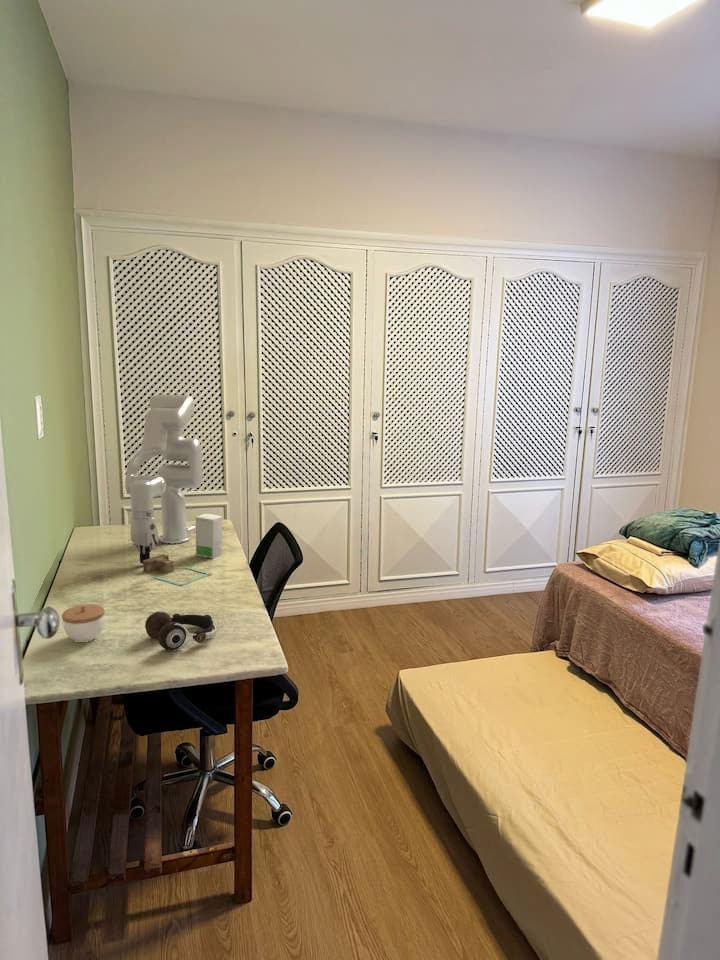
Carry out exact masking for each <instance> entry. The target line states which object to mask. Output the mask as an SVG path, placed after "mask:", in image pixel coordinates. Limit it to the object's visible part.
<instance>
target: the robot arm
mask: <svg viewBox="0 0 720 960" xmlns="http://www.w3.org/2000/svg"><path fill="white" fill-rule="evenodd" d="M148 402H149V408H150V409H149V410H148V411H147V412H146V414H145V421H144V427H143V428H144V429H143V437H142V438H143V439H142V445H141V448H139V450H138V451H137V452H136V453H135V454H134V455H133V456H132V457H131V459H130V460H129V463H128V465H127V468H126V474H125V479H124V487H125V491H126V493H127V494H128V495H130V506H131V507H130V508H131V511H130V512H131V518H130V540H131V543H132V544H133V546H135V547H136V548H137V551H138V553H139V563H140V564H142V565H143V560H146V559H149V558H151V555H150V554H151V551H152V550H153V551H154V550H156V545H158V544H159V542H160V543H162V542H163V544H168V543H170V544H169V545H171V544H175V543H176V544H181V543H182V542H183V543H186V542H188V541H190V540H191V535H190V534H189V533H191V532H193V531H196V526H194V525H193V526H189V527H188V526H187V516H186V515H187V514H186V513H187V511H186V510H187V509H186V497H185V494H184V492H183V491H182V490H181V489H197V488H200V486H201V484H202V480H203V452H202V451H203V450H202V445H201V442H200V440H199V439H197V438H193V437H192V438H191V437H184V434H183V433H184V432H183V430H184V429H185V428H186V426H187V425H188V423H189V421H190V419H191V418H192V416H193V414H194V411H195V406H196V405H195V401H194V399H193V397H192V396H190V395H185V394H155V395H152V396H151V397H150V398H149V401H148ZM159 455H161V457H162V459H163V460H164V461H168V462H187V464H173V463H171V464H170V463H169V464H163V465H161V466H160V467H159V468H158V470H157V474H156V475H141V474H139V475H138V471H139V469H140V467H141V466H142V465H143V464H144V463H145V462H146V461H148V460H150V459H152V458H155V457H157V456H159ZM155 497H156V498H157V497H160V505H161V506H160V508H161V525H162V526H161V528H162V535H160V536H159V532H158V531H159V530H158V526H157V521H156V518H155V516H154V515H155V514H154V513H155V512H154V498H155ZM183 543H182V544H183Z"/></svg>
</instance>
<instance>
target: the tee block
mask: <svg viewBox="0 0 720 960" xmlns="http://www.w3.org/2000/svg"><path fill="white" fill-rule="evenodd" d="M169 558H170V555H168V554H164V553H163V554H162V553H161V554H160V555H157V556H152V557H150V558H149V559H146V560H143V564H142V569H143V572H144V571H145V573H147V574H151V573H153V572H160V573H163V572H164V573H163V574H166V573H167V575H169V574H170V573H171V574H172V573H174V572H175V564H174V560H171V559H169ZM173 571H174V572H173ZM168 573H169V574H168Z"/></svg>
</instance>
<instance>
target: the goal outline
mask: <svg viewBox="0 0 720 960" xmlns="http://www.w3.org/2000/svg"><path fill="white" fill-rule="evenodd" d="M182 567H183V568H182V569H186V568H187V569H186V570H189V569H191V570H190V571H193V570H194V572H196V571H198V572H197V573H200V572H201V573H200V574H203V575H201V576H199V577H196V578H194V579H191V580H188V581H186V582H184V583H179V582H175V581H173V580H168V579H165V578H162V577H158V576H153V579H157V580H160V581H162V582H166V583H170V584H173V585H176V586H179V587H183V586H186V585H187V584H190V582H191V583H193V582H196V581H198V580H201V579H203V578H205V576H206V577H209V576H211V575H210V574H211V573H210V572H205V571H202V570H199V569H195V568H193V567H188V566H185V565H183V566H182ZM204 573H205V574H204ZM208 575H209V576H208ZM202 577H203V578H202ZM200 578H201V579H200ZM197 579H198V580H197ZM195 580H196V581H195ZM192 581H193V582H192ZM185 584H186V585H185Z"/></svg>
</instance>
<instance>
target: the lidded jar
mask: <svg viewBox="0 0 720 960" xmlns="http://www.w3.org/2000/svg"><path fill="white" fill-rule="evenodd" d="M105 612H106V611H105V608H104V607H103V606H102V605H99V604H88V603H87V604H82V605H81V604H80V605H79V604H78V605H75V606H72V607H70V608H67V609H65V610H64V611H63V613H62V614H61V619H62V625H63V626H62V627H63V629H64V632H65V635H67V636H68V638H69V639H71V640H72V641H73V640H74V641H77V642H86V641H90V642H92V641H91V640H93V639H95V638H96V637H97V638H98V636H99V635H100V634H101V632H102V631H103V629H104V625H105ZM97 638H96V639H97ZM96 639H95V640H96ZM74 641H73V642H74ZM93 641H94V640H93ZM77 642H76V643H77ZM86 643H87V642H86Z"/></svg>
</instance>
